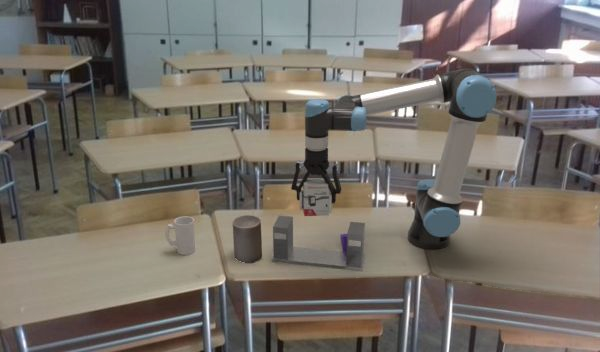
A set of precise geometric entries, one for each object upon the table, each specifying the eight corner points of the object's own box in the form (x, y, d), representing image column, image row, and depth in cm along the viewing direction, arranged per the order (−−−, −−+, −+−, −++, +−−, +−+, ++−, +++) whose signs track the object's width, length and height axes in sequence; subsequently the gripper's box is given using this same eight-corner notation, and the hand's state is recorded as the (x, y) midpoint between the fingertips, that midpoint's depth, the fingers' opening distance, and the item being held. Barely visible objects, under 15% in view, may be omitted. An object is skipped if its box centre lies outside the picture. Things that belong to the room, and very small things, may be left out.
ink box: (303, 216, 192) (303, 183, 188) (303, 210, 197) (303, 178, 193) (329, 215, 193) (330, 183, 188) (328, 209, 197) (328, 177, 193)
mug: (195, 245, 207) (193, 215, 202) (196, 254, 201) (194, 223, 196) (167, 248, 205) (164, 217, 201) (167, 257, 199) (164, 226, 194)
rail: (364, 256, 200) (366, 222, 195) (362, 271, 191) (364, 235, 186) (278, 248, 205) (277, 214, 200) (271, 261, 196) (271, 227, 191)
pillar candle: (260, 248, 205) (259, 210, 199) (263, 262, 196) (262, 222, 190) (233, 251, 203) (231, 213, 198) (235, 265, 194) (232, 225, 189)
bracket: (362, 253, 202) (363, 236, 200) (342, 253, 202) (343, 236, 200) (358, 237, 214) (359, 221, 211) (340, 237, 214) (341, 221, 211)
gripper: (351, 146, 187) (349, 208, 196) (286, 141, 192) (287, 202, 200) (348, 153, 180) (346, 217, 189) (280, 148, 185) (281, 211, 193)
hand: (316, 210), depth 194 cm, fingers closed on ink box, 9 cm apart
